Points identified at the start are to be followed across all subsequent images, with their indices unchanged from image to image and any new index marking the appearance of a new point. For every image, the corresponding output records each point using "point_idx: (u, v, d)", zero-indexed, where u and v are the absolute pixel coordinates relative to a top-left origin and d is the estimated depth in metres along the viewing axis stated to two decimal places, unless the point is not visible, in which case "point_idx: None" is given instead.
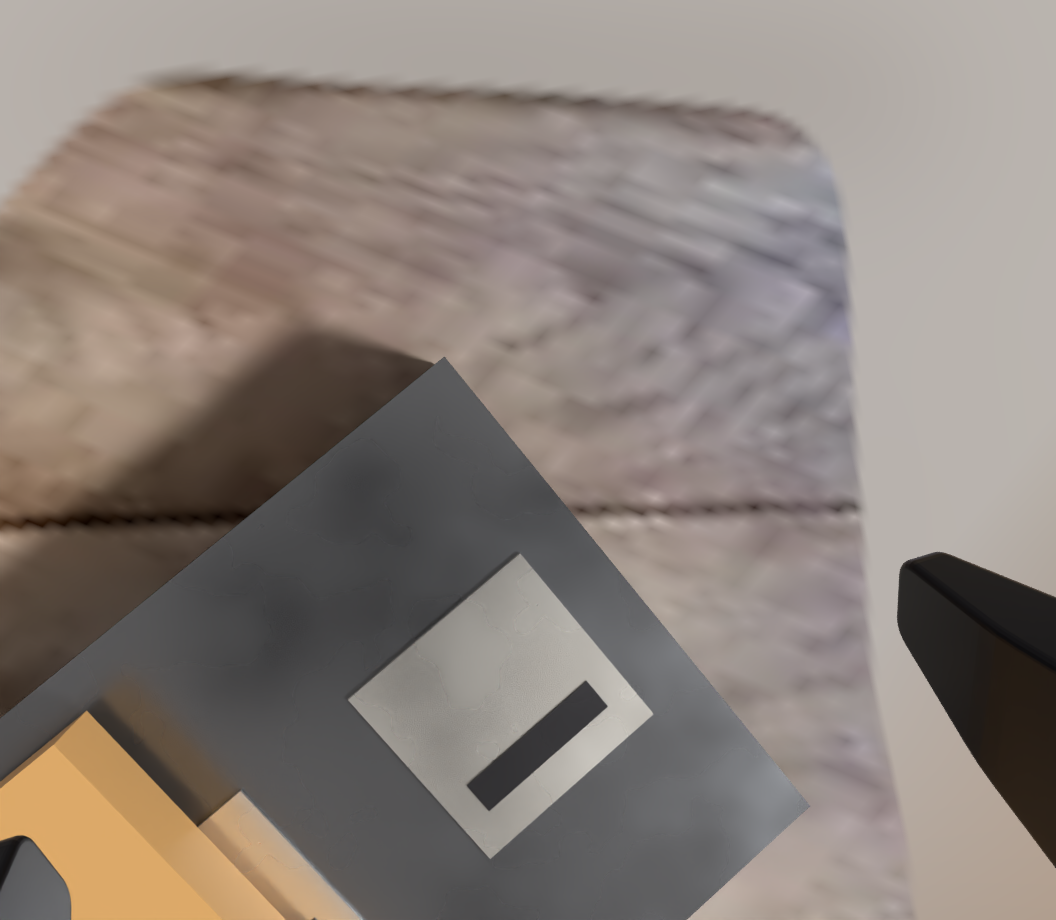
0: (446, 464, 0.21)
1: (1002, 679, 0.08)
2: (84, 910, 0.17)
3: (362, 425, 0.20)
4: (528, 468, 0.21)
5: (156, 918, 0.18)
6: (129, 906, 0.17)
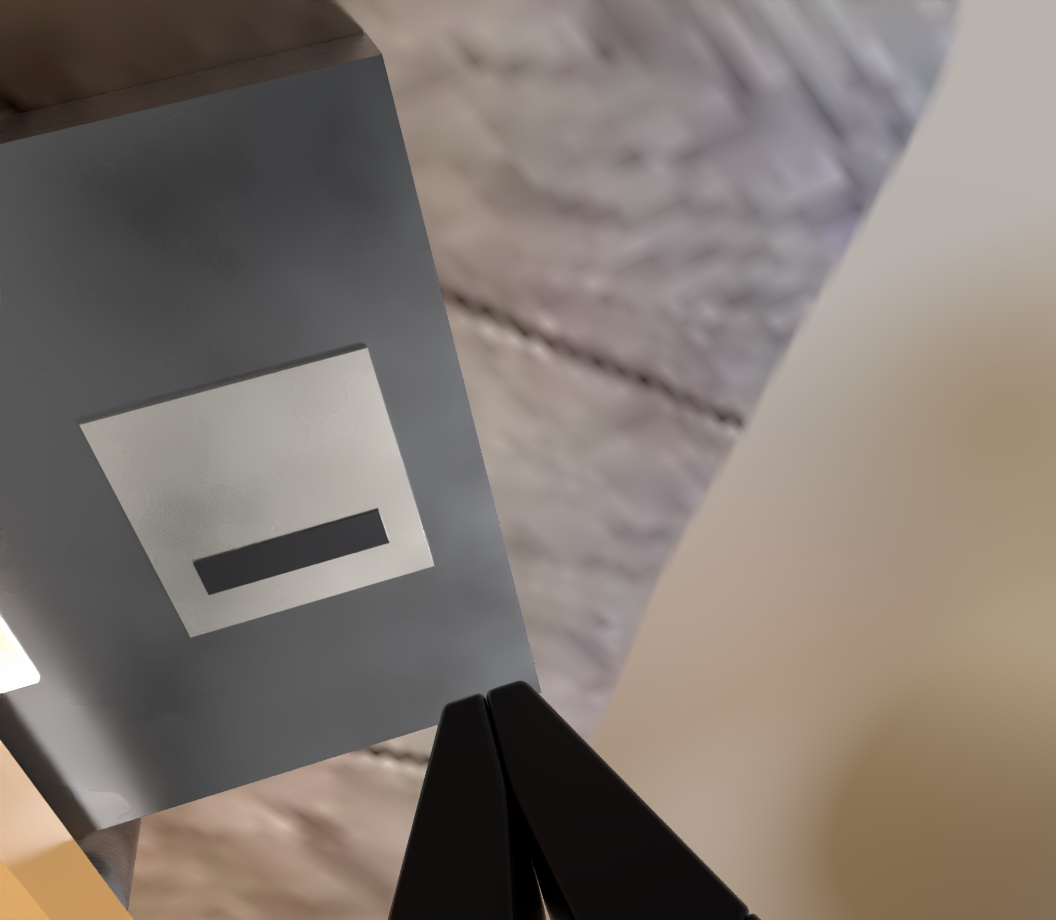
0: (321, 200, 0.15)
1: (525, 834, 0.08)
2: None
3: (227, 93, 0.14)
4: (424, 253, 0.16)
5: None
6: None
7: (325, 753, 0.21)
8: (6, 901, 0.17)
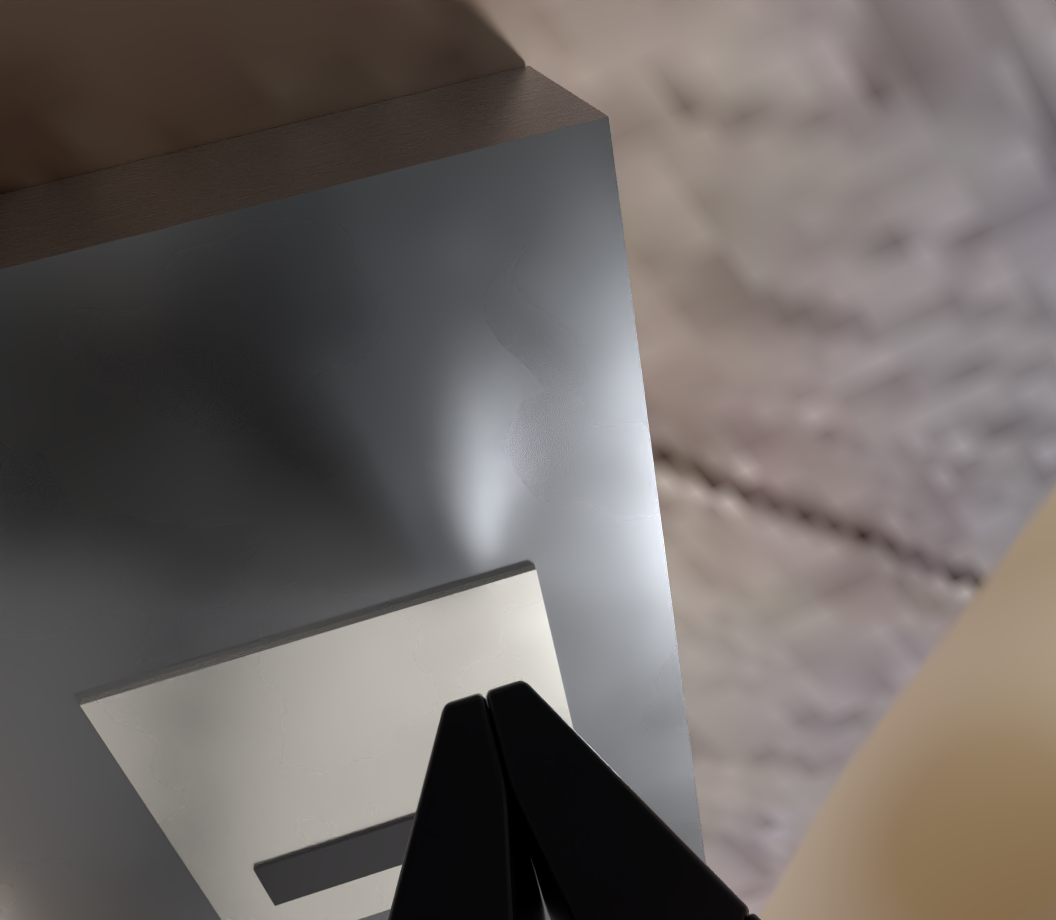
0: (486, 355, 0.09)
1: (525, 835, 0.08)
2: None
3: (341, 189, 0.08)
4: (637, 427, 0.10)
5: None
6: None
7: None
8: None
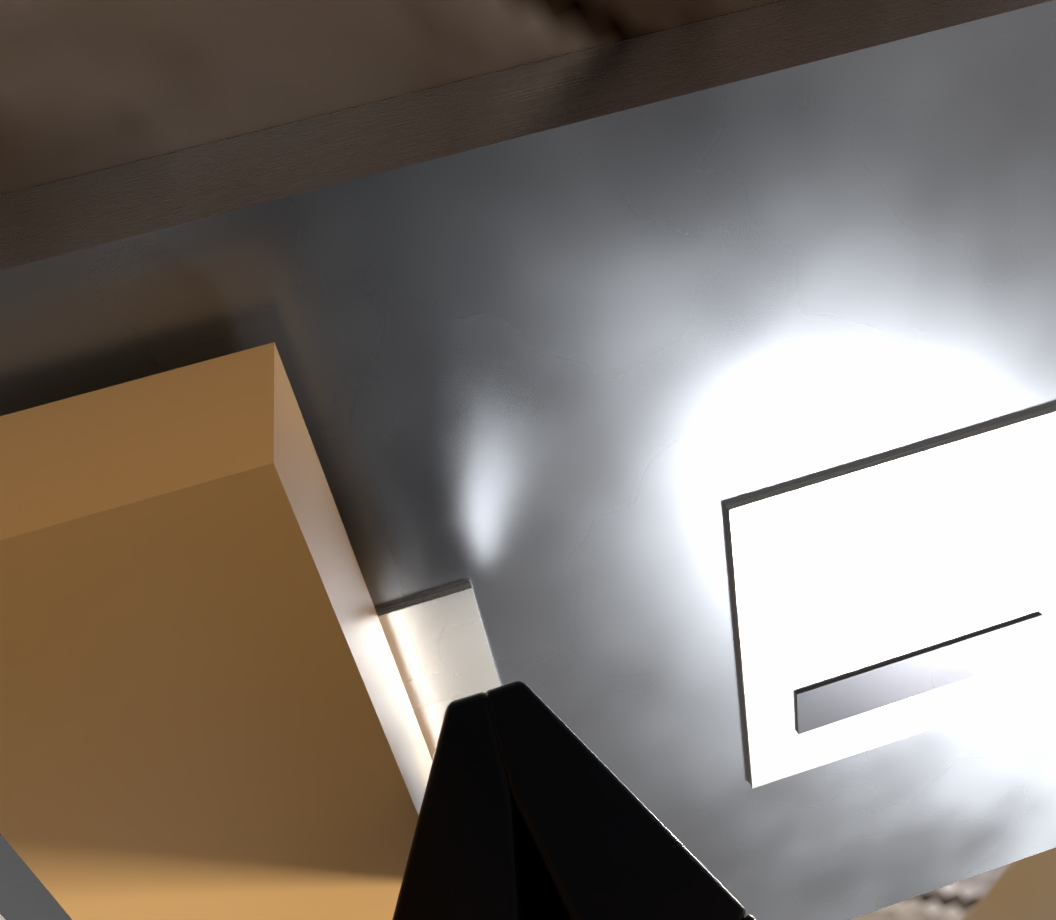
0: None
1: (523, 835, 0.08)
2: (184, 803, 0.07)
3: None
4: None
5: (323, 845, 0.08)
6: (282, 817, 0.08)
7: (842, 916, 0.16)
8: None
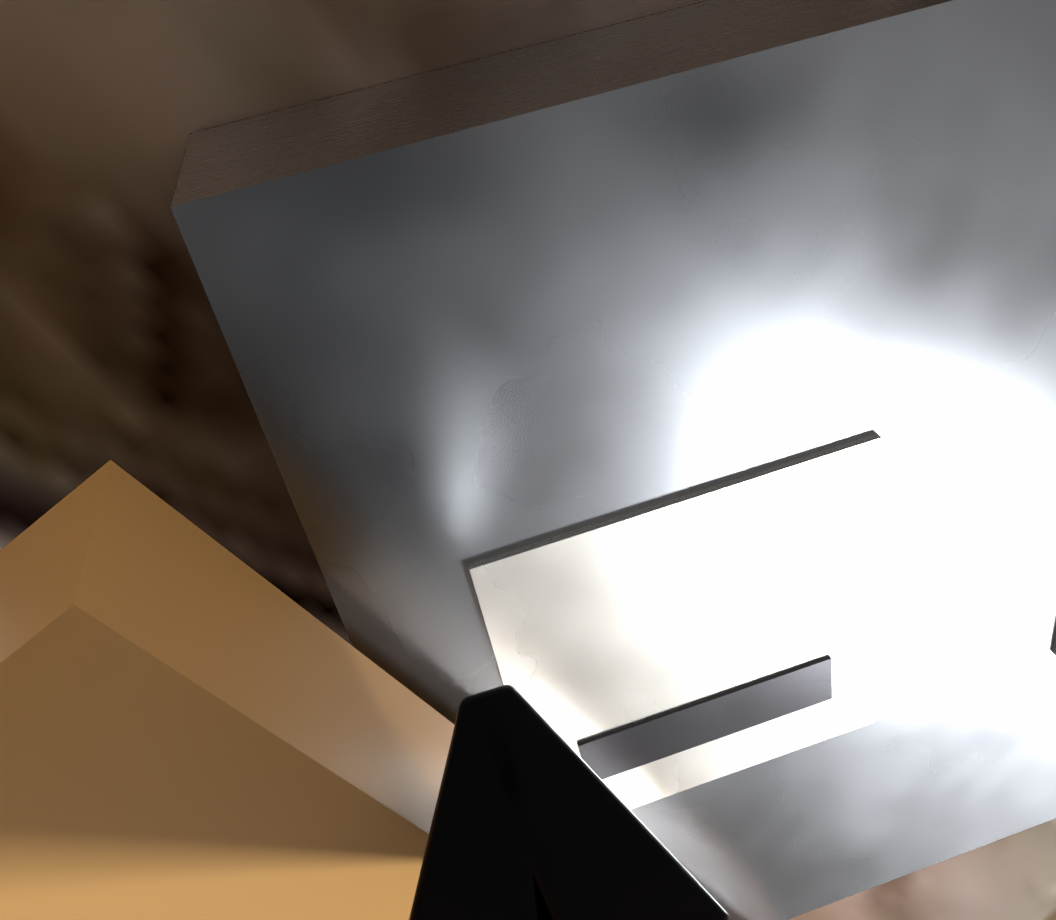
0: None
1: None
2: (198, 886, 0.08)
3: None
4: None
5: (348, 879, 0.09)
6: (293, 869, 0.08)
7: None
8: None
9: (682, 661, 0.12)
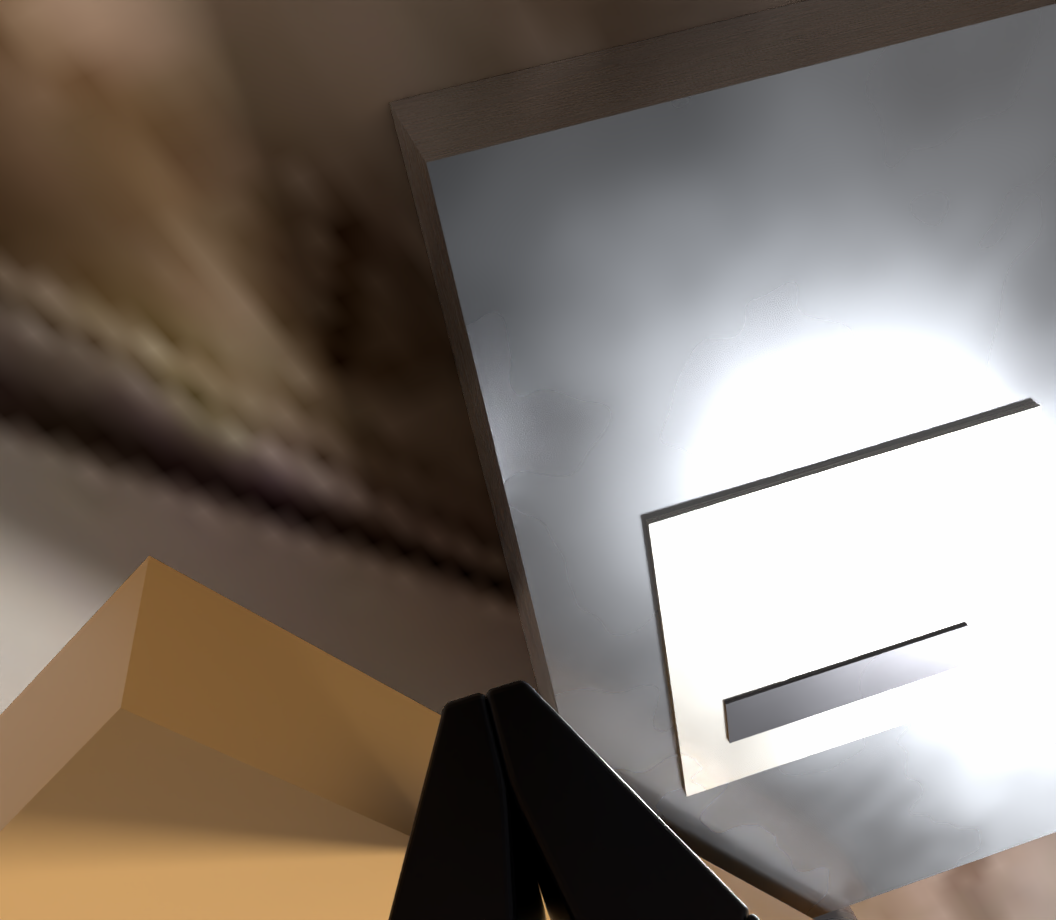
0: None
1: (525, 834, 0.08)
2: None
3: None
4: None
5: None
6: (358, 909, 0.09)
7: None
8: None
9: (830, 623, 0.12)
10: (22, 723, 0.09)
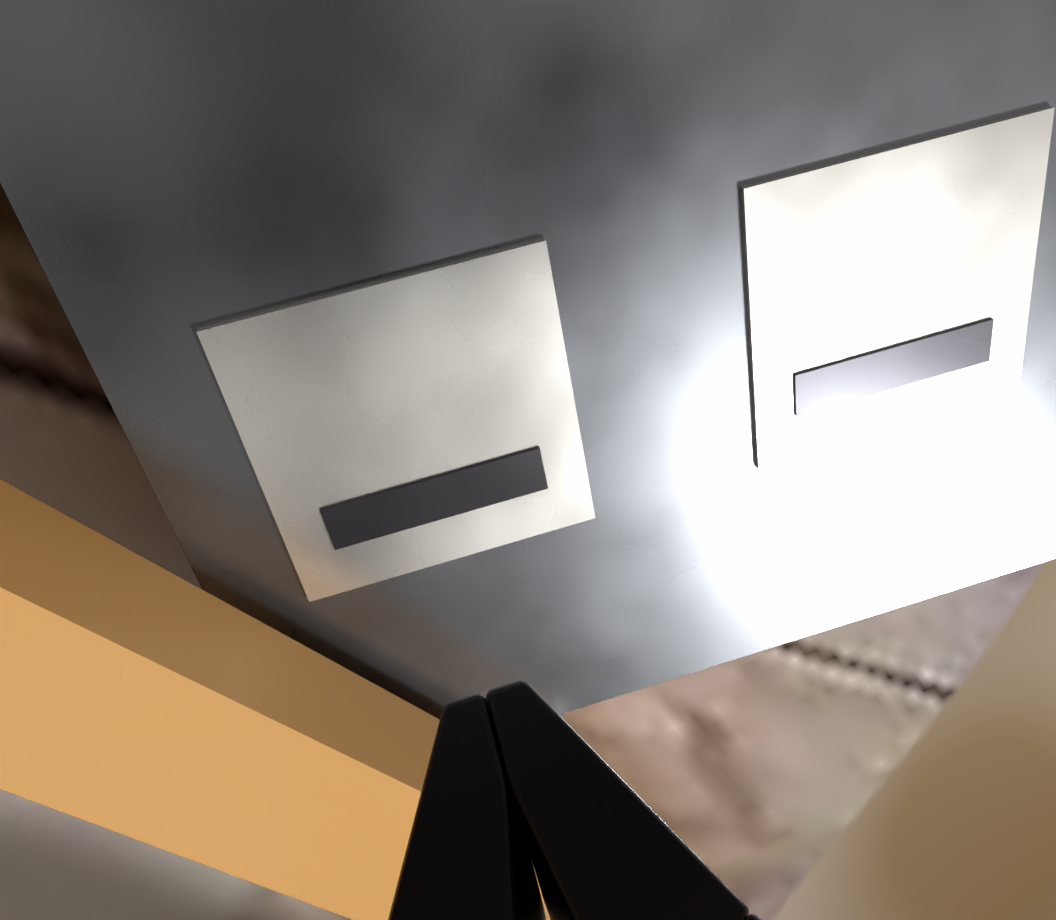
0: None
1: (525, 834, 0.08)
2: None
3: None
4: None
5: None
6: None
7: (832, 622, 0.19)
8: None
9: (402, 438, 0.14)
10: None
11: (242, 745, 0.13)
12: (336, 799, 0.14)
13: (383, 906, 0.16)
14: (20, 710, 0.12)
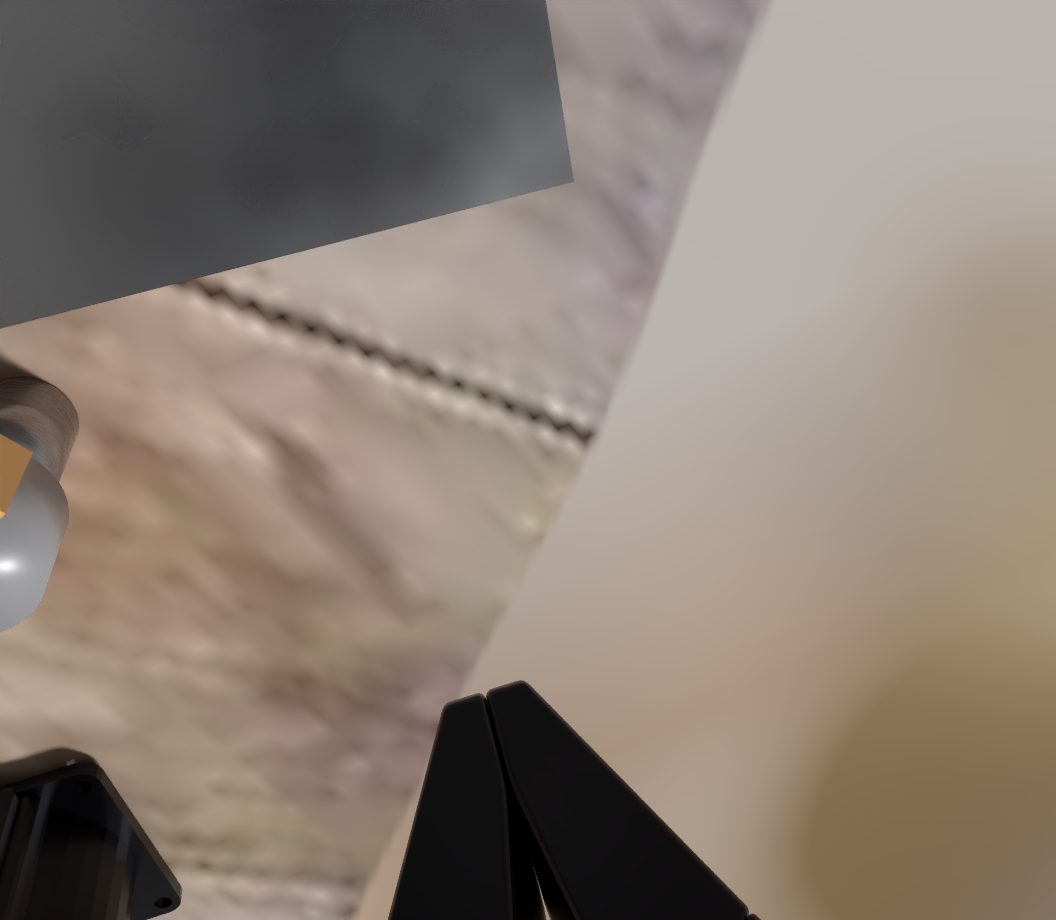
0: None
1: (525, 834, 0.08)
2: None
3: None
4: None
5: None
6: None
7: (299, 241, 0.16)
8: None
9: None
10: None
11: None
12: None
13: None
14: None
